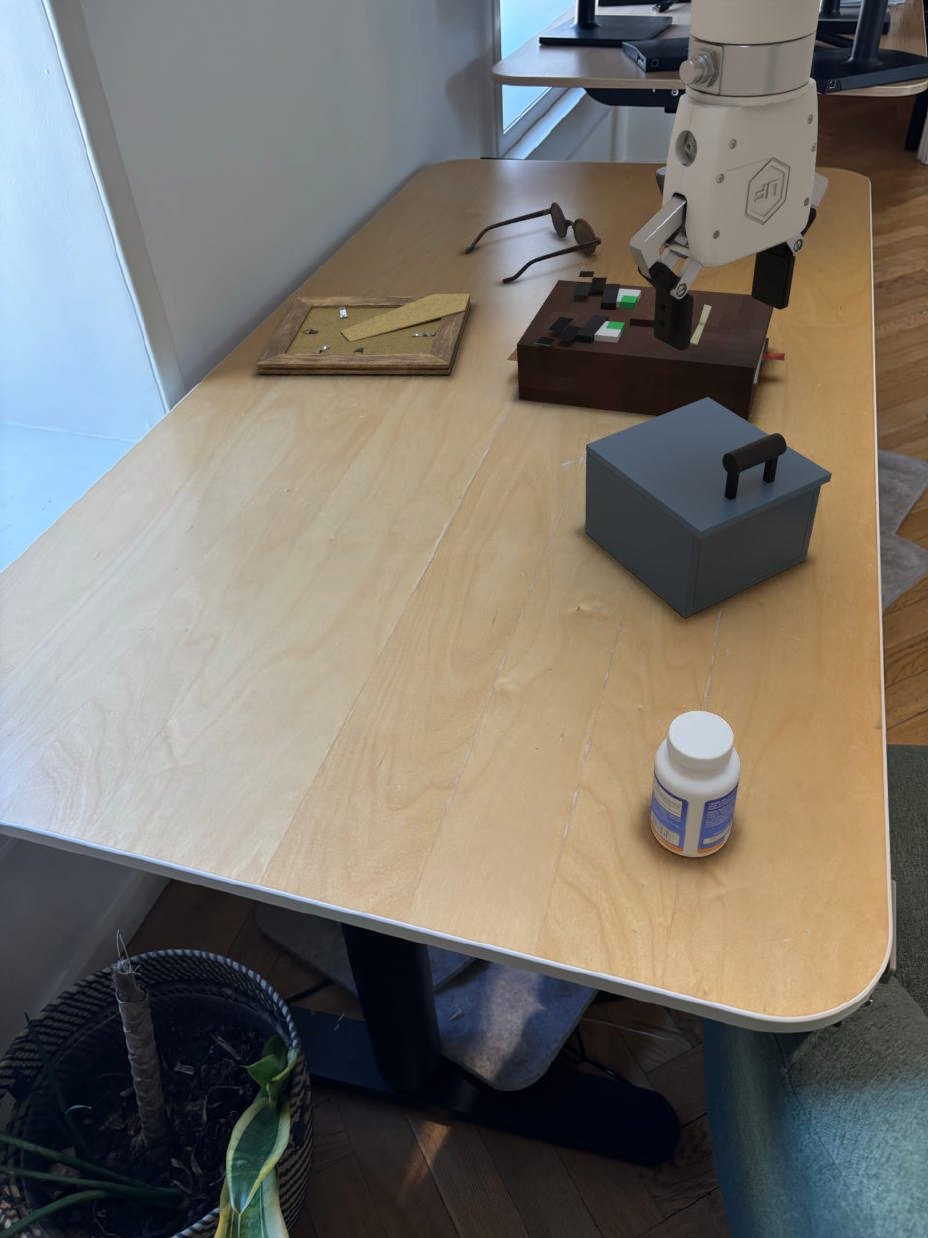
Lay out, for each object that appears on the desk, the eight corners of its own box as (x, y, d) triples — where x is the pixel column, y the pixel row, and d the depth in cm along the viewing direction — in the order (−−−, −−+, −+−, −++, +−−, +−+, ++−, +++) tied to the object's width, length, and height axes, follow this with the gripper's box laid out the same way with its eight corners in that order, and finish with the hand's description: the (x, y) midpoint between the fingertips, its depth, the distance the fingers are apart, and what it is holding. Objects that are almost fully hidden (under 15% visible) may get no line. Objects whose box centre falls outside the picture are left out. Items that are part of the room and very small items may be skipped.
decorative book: (778, 368, 98) (491, 340, 107) (768, 434, 103) (495, 402, 112) (799, 286, 111) (542, 267, 120) (789, 348, 116) (543, 325, 125)
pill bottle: (728, 798, 69) (744, 703, 63) (731, 863, 65) (750, 769, 59) (649, 792, 70) (657, 698, 64) (648, 856, 66) (657, 763, 60)
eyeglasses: (601, 261, 139) (601, 225, 135) (506, 286, 135) (504, 250, 131) (551, 228, 149) (550, 194, 145) (461, 250, 145) (459, 216, 141)
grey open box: (806, 560, 88) (823, 477, 82) (684, 618, 83) (693, 535, 77) (698, 483, 98) (706, 404, 92) (584, 532, 93) (585, 452, 87)
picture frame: (470, 306, 131) (298, 307, 134) (470, 293, 130) (295, 294, 133) (449, 376, 117) (258, 375, 121) (448, 362, 116) (255, 361, 120)
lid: (830, 481, 81) (841, 428, 78) (700, 539, 77) (706, 486, 74) (706, 404, 92) (712, 354, 88) (585, 451, 87) (586, 401, 84)
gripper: (685, 106, 56) (666, 379, 67) (892, 45, 62) (843, 304, 74) (601, 82, 61) (596, 341, 72) (801, 28, 67) (768, 273, 79)
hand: (721, 322), depth 73 cm, fingers open, 9 cm apart
